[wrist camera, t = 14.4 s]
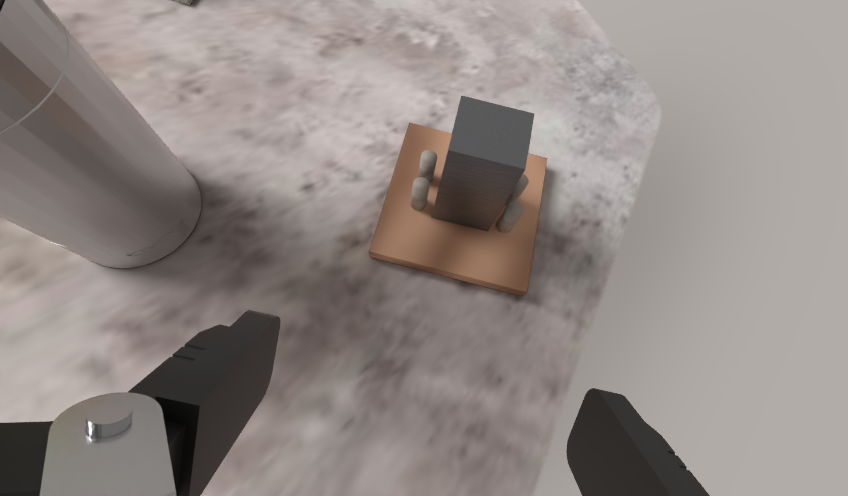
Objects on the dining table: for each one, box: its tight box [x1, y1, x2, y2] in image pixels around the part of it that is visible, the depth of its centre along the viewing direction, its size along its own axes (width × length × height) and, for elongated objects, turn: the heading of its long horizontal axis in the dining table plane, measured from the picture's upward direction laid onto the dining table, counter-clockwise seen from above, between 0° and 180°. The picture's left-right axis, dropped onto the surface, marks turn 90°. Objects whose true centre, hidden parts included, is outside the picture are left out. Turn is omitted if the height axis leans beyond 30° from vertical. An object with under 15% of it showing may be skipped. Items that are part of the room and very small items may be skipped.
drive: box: [431, 96, 534, 232], centre depth 28 cm, size 4×4×9 cm
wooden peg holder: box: [369, 123, 547, 296], centre depth 31 cm, size 12×12×4 cm
